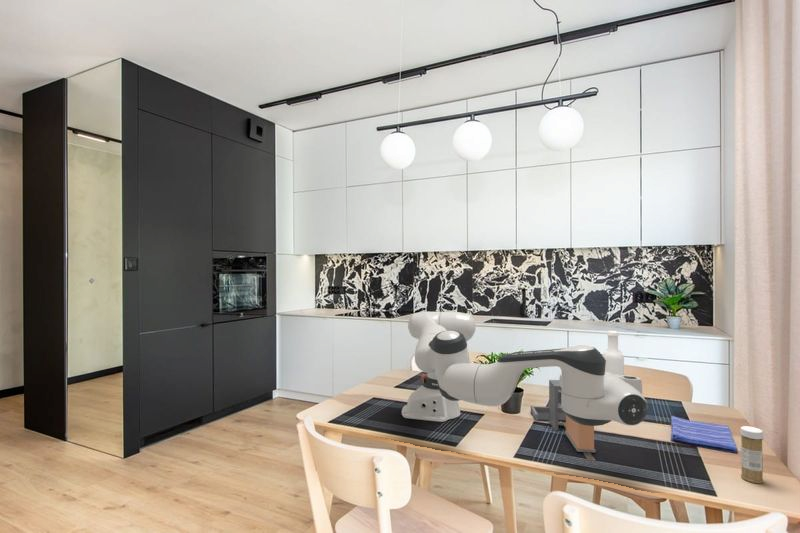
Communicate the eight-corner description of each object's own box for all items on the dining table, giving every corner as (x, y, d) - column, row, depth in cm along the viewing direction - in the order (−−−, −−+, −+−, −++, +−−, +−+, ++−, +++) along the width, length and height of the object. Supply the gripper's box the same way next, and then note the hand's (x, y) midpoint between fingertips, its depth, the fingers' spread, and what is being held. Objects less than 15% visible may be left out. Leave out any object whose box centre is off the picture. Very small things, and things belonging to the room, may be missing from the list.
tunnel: (554, 430, 146) (554, 386, 146) (549, 421, 154) (549, 379, 154) (586, 431, 144) (586, 387, 144) (579, 422, 152) (579, 380, 152)
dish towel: (670, 443, 136) (670, 435, 136) (670, 420, 156) (670, 412, 156) (739, 456, 126) (739, 447, 126) (729, 430, 147) (729, 421, 147)
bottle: (617, 411, 164) (617, 333, 164) (598, 405, 171) (598, 331, 171) (628, 406, 169) (627, 331, 169) (608, 401, 176) (608, 329, 175)
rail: (588, 460, 123) (588, 459, 123) (561, 422, 153) (561, 421, 153) (595, 460, 123) (595, 460, 123) (567, 422, 153) (567, 421, 153)
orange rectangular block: (577, 451, 128) (577, 418, 128) (564, 433, 143) (564, 402, 143) (595, 452, 128) (595, 418, 128) (580, 433, 142) (580, 403, 142)
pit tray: (535, 420, 155) (535, 414, 155) (530, 412, 164) (530, 406, 164) (592, 422, 152) (592, 416, 152) (584, 414, 161) (584, 407, 161)
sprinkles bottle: (762, 479, 112) (762, 428, 112) (763, 486, 109) (763, 433, 109) (740, 473, 115) (740, 424, 115) (740, 480, 111) (740, 429, 111)
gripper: (566, 400, 113) (553, 386, 126) (648, 403, 110) (625, 387, 124) (566, 376, 113) (553, 364, 126) (647, 378, 110) (625, 366, 124)
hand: (589, 376), depth 125 cm, fingers open, 8 cm apart
